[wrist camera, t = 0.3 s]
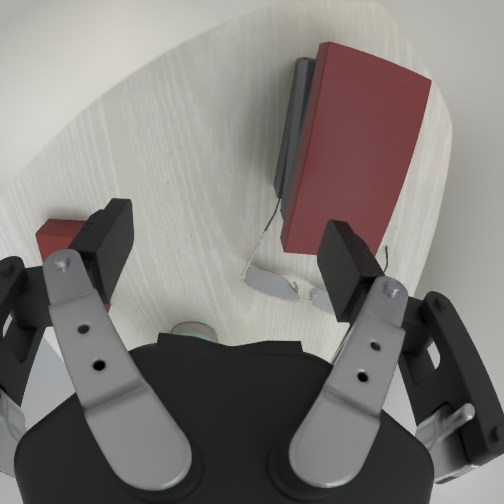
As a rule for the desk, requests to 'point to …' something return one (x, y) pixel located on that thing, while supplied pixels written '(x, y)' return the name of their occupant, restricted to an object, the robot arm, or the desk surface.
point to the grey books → (294, 129)
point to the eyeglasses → (285, 284)
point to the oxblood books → (58, 238)
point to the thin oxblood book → (353, 147)
